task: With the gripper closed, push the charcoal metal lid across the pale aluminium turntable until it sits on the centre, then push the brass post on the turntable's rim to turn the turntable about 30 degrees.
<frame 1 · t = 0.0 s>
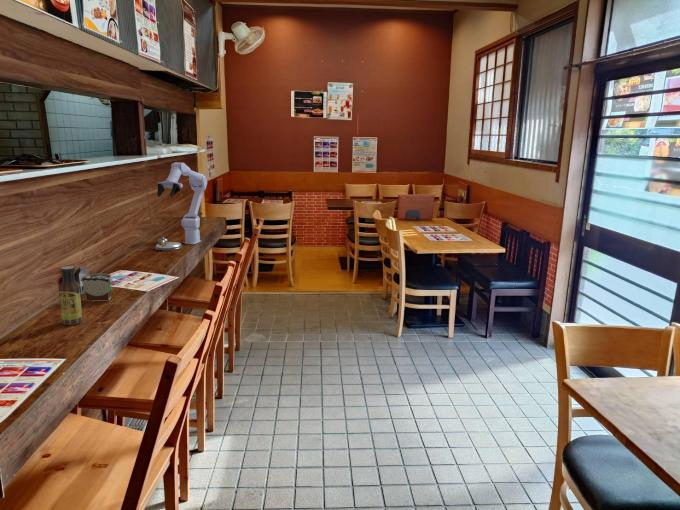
hand: (164, 195, 265), 32 cm above the counter, tool tilted 50°, fingers open, 7 cm apart
lid: (163, 244, 283), point 2 cm above the counter, touching turntable
food container: (102, 299, 191), on the counter
turntable base: (168, 248, 283), on the counter
turntable: (168, 242, 282), point 4 cm above the counter, hinge at 0.0°, touching lid
sauce bottle: (72, 323, 166), on the counter
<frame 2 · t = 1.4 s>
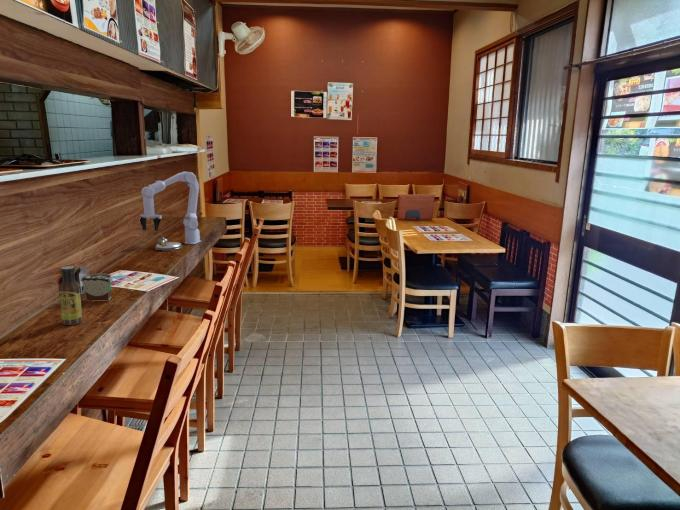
hand: (150, 230, 282), 10 cm above the counter, tool pointing down, fingers open, 7 cm apart
nothing on the counter moved.
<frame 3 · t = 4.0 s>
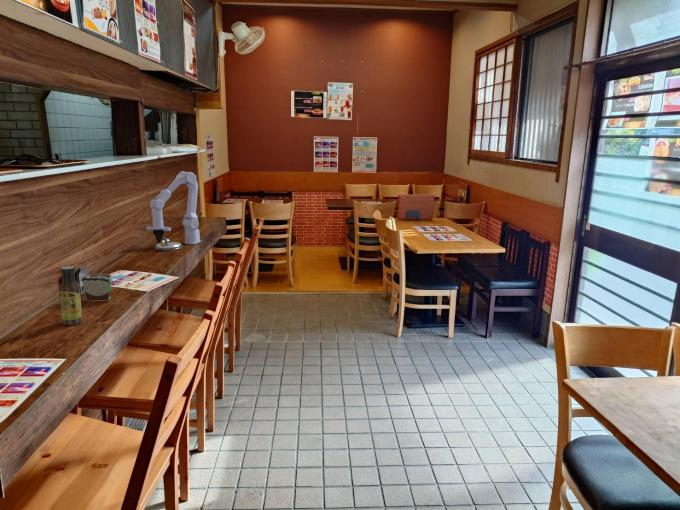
hand: (159, 242, 283), 3 cm above the counter, tool pointing down, fingers closed
lid: (165, 244, 283), point 2 cm above the counter, touching gripper, turntable
everything else where it was.
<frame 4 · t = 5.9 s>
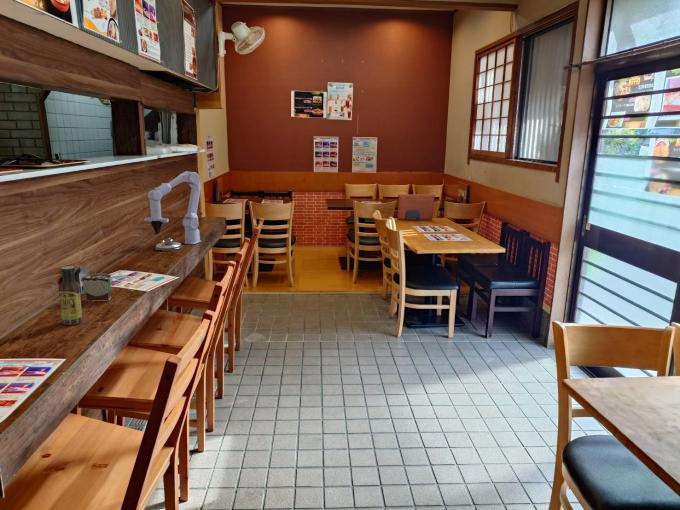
hand: (157, 233, 282), 9 cm above the counter, tool pointing down, fingers closed
lid: (168, 244, 282), point 2 cm above the counter, touching turntable
everything else where it was.
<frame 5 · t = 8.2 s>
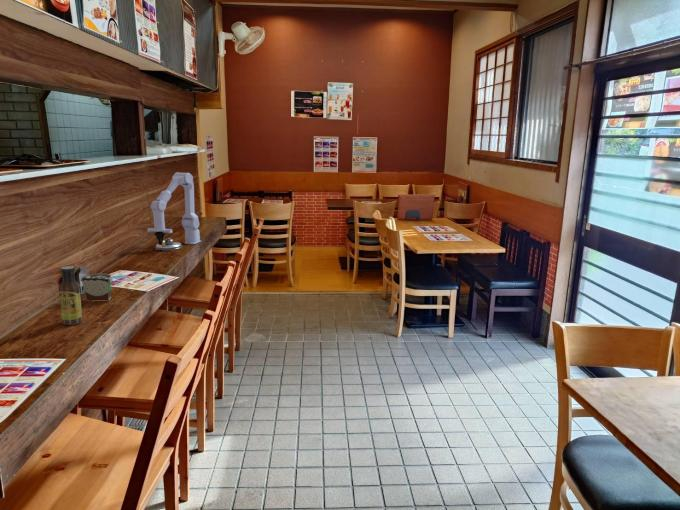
hand: (160, 244, 277), 3 cm above the counter, tool pointing down, fingers closed, pressing on turntable
turntable: (168, 242, 282), point 4 cm above the counter, hinge at 1.4°, touching gripper, lid
everything else where it was.
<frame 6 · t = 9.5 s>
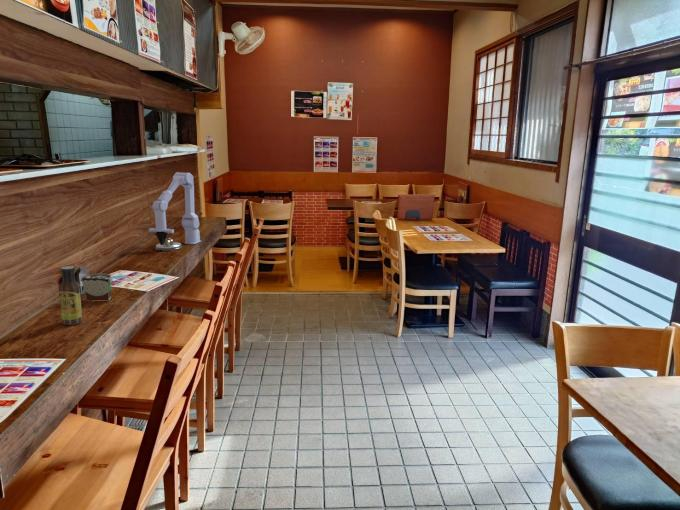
hand: (162, 244, 276), 3 cm above the counter, tool pointing down, fingers closed
turntable: (168, 242, 282), point 4 cm above the counter, hinge at 27.4°, touching lid
everything else where it was.
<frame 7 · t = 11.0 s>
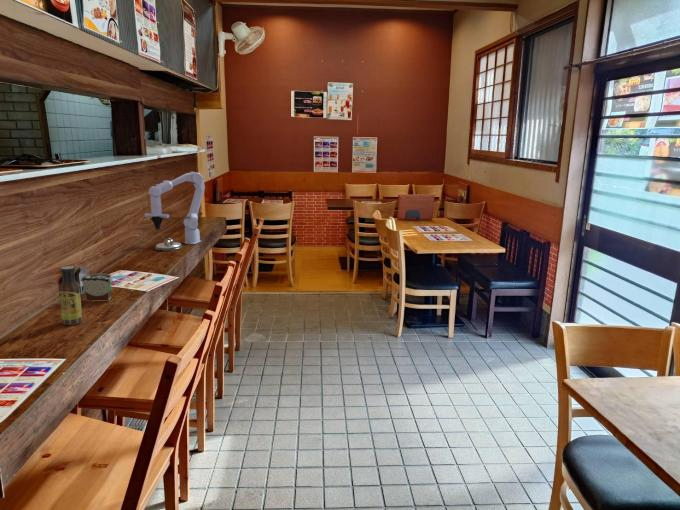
hand: (157, 229, 286), 10 cm above the counter, tool pointing down, fingers closed
nothing on the counter moved.
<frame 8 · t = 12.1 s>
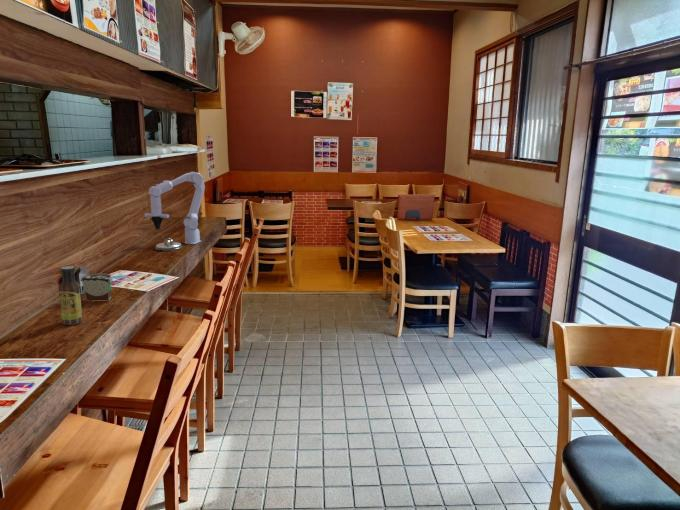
hand: (157, 229, 286), 10 cm above the counter, tool pointing down, fingers closed
nothing on the counter moved.
at the end: lid 0.2 cm from the turntable (horizontally); turntable at +27° (first picture: +0°); lid tilted 0° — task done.
